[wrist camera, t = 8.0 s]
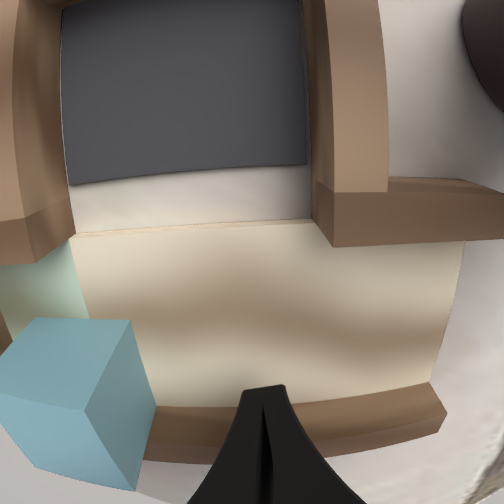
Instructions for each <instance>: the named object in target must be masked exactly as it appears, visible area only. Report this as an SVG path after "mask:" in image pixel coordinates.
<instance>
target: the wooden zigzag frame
mask: <svg viewBox="0 0 504 504" xmlns="http://www.w3.org/2000/svg"><path fill="white" fill-rule="evenodd" d="M81 1H84V0H0V356H1V355H2V354H3V353H4V351H5V350H6V349H7V348H8V347H9V346H10V344H11V343H12V342H13V341H14V340H15V339H16V338H17V337H18V335H19V334H20V333H21V332H22V331H23V330H24V329H25V328H26V327H27V325H28V324H29V323H30V322H31V321H32V320H33V319H34V318H35V317H48V318H71V319H107V320H131V324H132V328H133V332H134V335H135V339H136V342H137V346H138V349H139V353H140V356H141V359H142V363H143V366H144V369H145V372H146V376H147V379H148V382H149V385H150V388H151V391H152V394H153V397H154V400H155V402H156V405H157V406H156V410H155V413H154V417H153V421H152V425H151V428H150V432H149V436H148V440H147V444H146V448H145V452H144V455H143V459H142V460H150V461H160V462H172V463H187V464H213V463H214V461H215V460H216V458H217V456H218V454H219V452H220V450H221V448H222V446H223V444H224V442H225V439H226V437H227V434H228V432H229V430H230V427H231V425H232V422H233V420H234V417H235V414H236V411H237V408H238V405H239V401H240V398H241V393H242V392H243V391H244V390H246V389H253V388H260V387H266V386H272V385H278V384H283V385H285V386H286V391H287V394H288V397H289V400H290V403H291V405H292V407H293V409H294V412H295V414H296V416H297V418H298V419H299V421H300V423H301V425H302V426H303V428H304V430H305V432H306V433H307V435H308V436H309V438H310V440H311V441H312V443H313V444H314V445H315V447H316V448H317V450H318V451H319V453H320V454H321V455H322V457H323V458H326V457H333V456H339V455H345V454H351V453H357V452H362V451H367V450H372V449H377V448H381V447H386V446H390V445H394V444H398V443H402V442H406V441H410V440H413V439H417V438H421V437H424V436H427V435H431V434H434V433H437V432H438V431H439V429H440V427H441V425H442V423H443V421H444V419H445V417H446V415H447V412H446V410H445V408H444V406H443V405H442V403H441V401H440V400H439V398H438V396H437V395H436V393H435V391H434V390H433V388H432V386H431V385H430V383H429V379H430V376H431V374H432V371H433V368H434V365H435V362H436V359H437V356H438V353H439V350H440V347H441V343H442V340H443V337H444V333H445V330H446V326H447V323H448V319H449V315H450V311H451V307H452V303H453V299H454V295H455V290H456V286H457V281H458V277H459V272H460V267H461V261H462V256H463V250H464V244H465V241H473V240H492V239H504V194H503V193H501V192H498V191H495V190H492V189H489V188H487V187H484V186H481V185H478V184H475V183H472V182H469V181H465V180H459V179H442V178H420V177H388V104H387V84H386V70H385V58H384V47H383V38H382V29H381V22H380V14H379V7H378V1H377V0H302V6H303V16H304V28H305V40H306V53H307V68H308V85H309V104H310V128H311V165H312V219H290V220H269V221H249V222H231V223H213V224H197V225H182V226H168V227H154V228H140V229H127V230H115V231H103V232H92V233H81V234H76V233H75V227H74V222H73V217H72V211H71V205H70V199H69V192H68V185H67V178H66V170H65V162H64V153H63V142H62V129H61V113H60V78H59V71H60V37H61V22H62V11H63V10H64V8H65V7H67V6H70V5H73V4H76V3H78V2H81Z"/></svg>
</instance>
